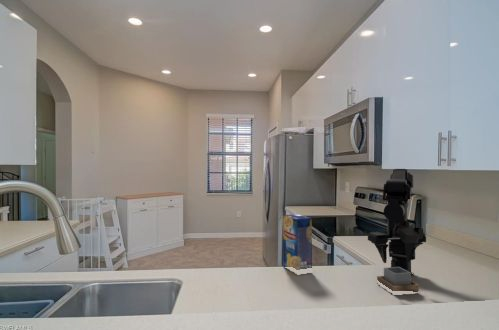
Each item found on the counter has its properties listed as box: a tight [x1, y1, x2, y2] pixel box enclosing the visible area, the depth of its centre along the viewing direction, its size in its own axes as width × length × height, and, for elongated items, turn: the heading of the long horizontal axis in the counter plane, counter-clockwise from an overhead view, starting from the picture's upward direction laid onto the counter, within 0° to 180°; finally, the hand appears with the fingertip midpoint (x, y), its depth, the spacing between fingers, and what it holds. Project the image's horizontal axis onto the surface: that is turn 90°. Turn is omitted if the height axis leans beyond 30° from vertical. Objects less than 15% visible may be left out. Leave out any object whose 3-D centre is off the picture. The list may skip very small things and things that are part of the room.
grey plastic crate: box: [383, 266, 412, 286], centre depth 100 cm, size 6×6×6 cm
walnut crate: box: [376, 275, 420, 292], centre depth 100 cm, size 9×9×3 cm
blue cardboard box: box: [282, 213, 313, 270], centre depth 119 cm, size 7×11×22 cm, turn 23°
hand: (396, 262), depth 100 cm, fingers open, 9 cm apart
